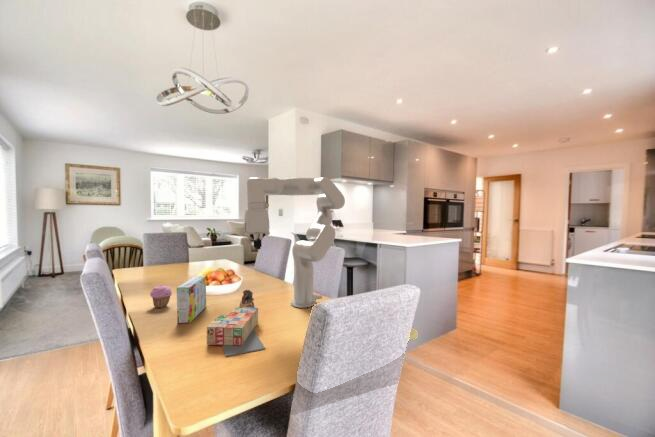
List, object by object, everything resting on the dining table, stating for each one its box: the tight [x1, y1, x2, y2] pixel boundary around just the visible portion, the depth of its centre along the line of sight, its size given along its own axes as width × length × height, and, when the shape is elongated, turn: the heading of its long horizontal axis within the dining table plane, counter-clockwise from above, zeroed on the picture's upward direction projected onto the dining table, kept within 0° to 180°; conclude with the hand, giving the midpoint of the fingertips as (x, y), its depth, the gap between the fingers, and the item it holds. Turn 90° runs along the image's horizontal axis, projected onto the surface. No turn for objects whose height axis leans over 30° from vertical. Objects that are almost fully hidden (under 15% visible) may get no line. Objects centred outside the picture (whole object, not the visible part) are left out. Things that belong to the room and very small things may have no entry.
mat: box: [221, 328, 266, 358], centre depth 109 cm, size 13×26×1 cm, turn 26°
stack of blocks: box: [206, 307, 259, 346], centre depth 112 cm, size 21×6×12 cm
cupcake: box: [149, 285, 172, 309], centre depth 143 cm, size 9×9×10 cm
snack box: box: [176, 275, 207, 324], centre depth 132 cm, size 21×6×15 cm, turn 5°
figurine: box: [238, 289, 256, 308], centre depth 130 cm, size 7×7×12 cm
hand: (257, 248), depth 130 cm, fingers closed
